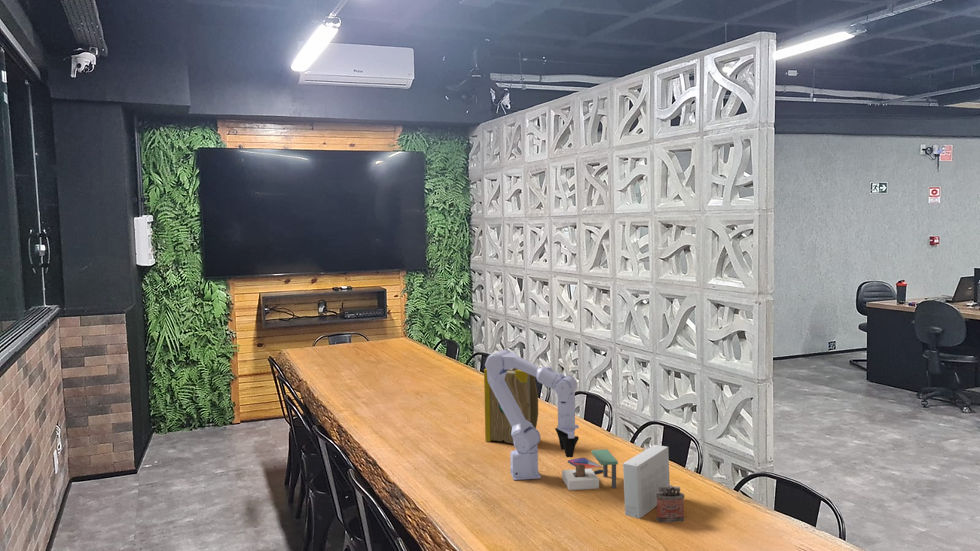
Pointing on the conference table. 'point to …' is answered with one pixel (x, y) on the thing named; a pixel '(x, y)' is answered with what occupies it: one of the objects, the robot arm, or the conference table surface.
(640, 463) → the skincare box
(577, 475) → the peg
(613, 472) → the small green stool
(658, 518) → the lighter
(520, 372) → the decorative book
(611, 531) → the conference table surface
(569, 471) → the socket block
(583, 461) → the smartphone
